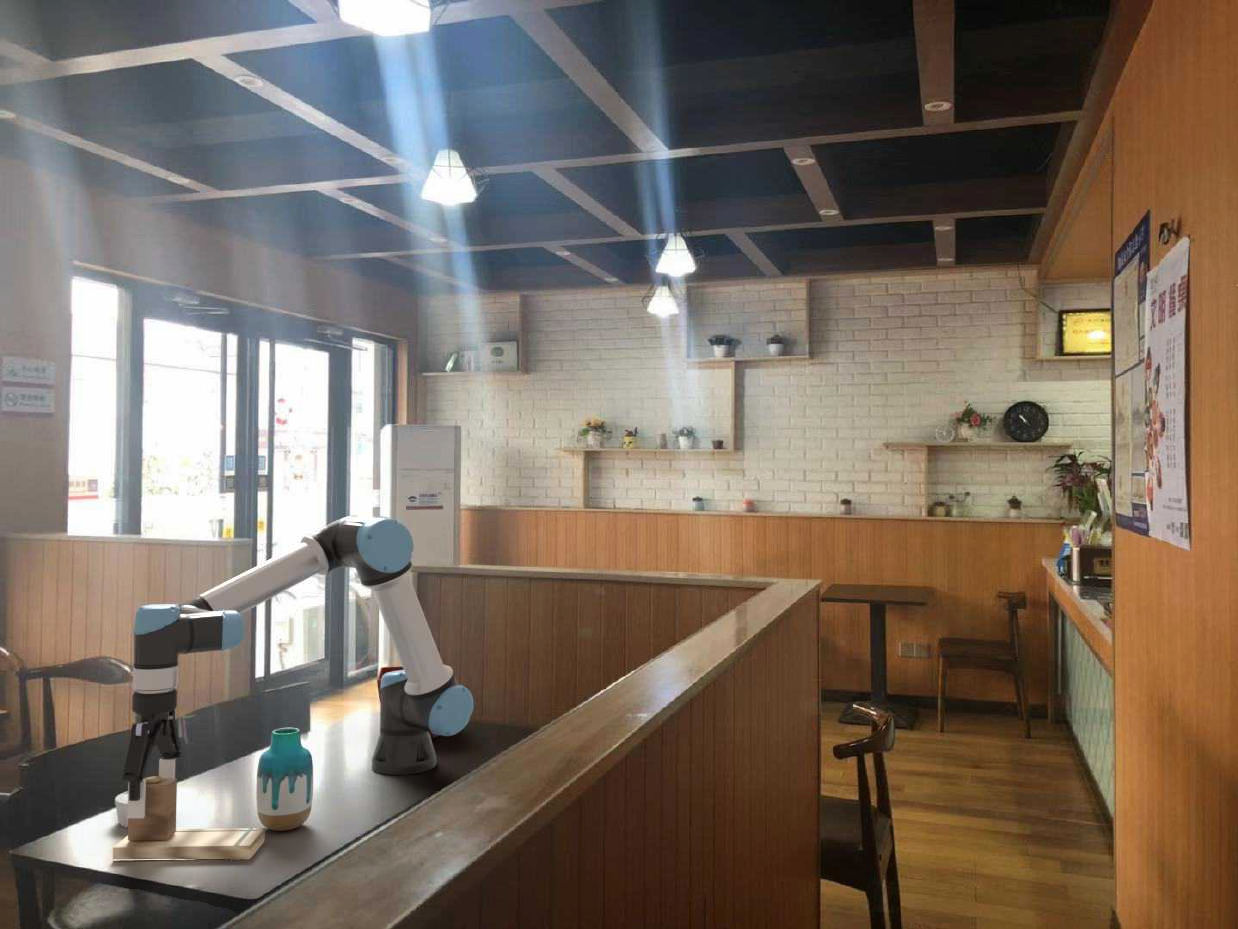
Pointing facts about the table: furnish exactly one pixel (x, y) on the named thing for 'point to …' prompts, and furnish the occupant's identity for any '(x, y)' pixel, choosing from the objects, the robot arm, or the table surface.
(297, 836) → the table surface
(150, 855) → the board
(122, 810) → the ramekin
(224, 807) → the table surface
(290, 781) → the vase
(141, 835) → the tan boxy wooden piece
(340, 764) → the table surface
